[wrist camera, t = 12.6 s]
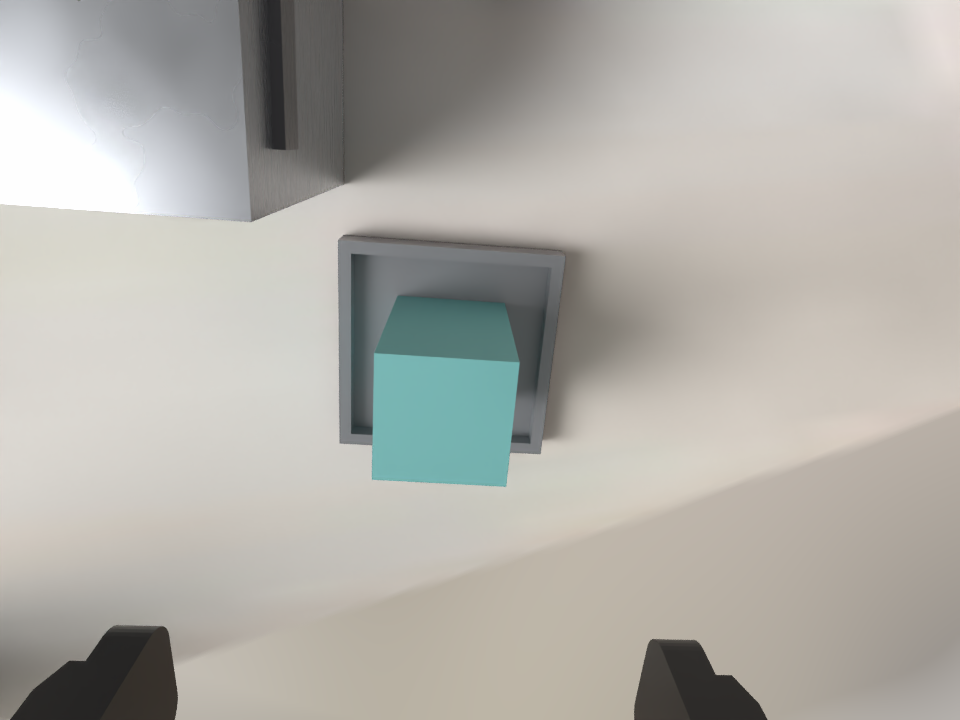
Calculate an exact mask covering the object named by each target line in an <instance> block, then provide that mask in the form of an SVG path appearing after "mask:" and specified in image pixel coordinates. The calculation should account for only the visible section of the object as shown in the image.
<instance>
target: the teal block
mask: <svg viewBox="0 0 960 720" xmlns="http://www.w3.org/2000/svg"><path fill="white" fill-rule="evenodd" d="M519 364H520V362H519V358H518V354H517V350H516V346H515V342H514V338H513V334H512V330H511V326H510V322H509V318H508V314H507V310H506V306H505V303H497V302H482V301H468V300H454V299H439V298H425V297H410V296H397V298H396V301H395V303H394V305H393V308H392V310H391V313H390V315H389V318H388V320H387V323H386V325H385V328H384V330H383V332H382V335H381V337H380V340H379V342H378V345H377V347H376V350H375V352H374V386H373V446H372V480H389V481H408V482H427V483H446V484H465V485H484V486H503V487H506V483H507V474H508V465H509V456H510V446H511V437H512V428H513V419H514V410H515V401H516V392H517V383H518V374H519Z"/></svg>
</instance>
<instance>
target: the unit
mask: <svg viewBox="0 0 960 720" xmlns="http://www.w3.org/2000/svg"><path fill="white" fill-rule="evenodd" d="M341 185H344V154H343V0H0V204H11V205H25V206H38V207H52V208H66V209H80V210H93V211H107V212H121V213H134V214H148V215H162V216H176V217H189V218H203V219H217V220H231V221H244V222H252V221H255V220H257V219H260V218H262V217H265V216H267V215H270V214H272V213H275V212H277V211H280V210H282V209H284V208H287V207H289V206H292V205H294V204H297V203H299V202H302V201H304V200H307V199H309V198H312V197H314V196H317V195H319V194H321V193H324V192H326V191H329V190H331V189H334V188H336V187H339V186H341Z"/></svg>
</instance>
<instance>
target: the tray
mask: <svg viewBox="0 0 960 720" xmlns="http://www.w3.org/2000/svg"><path fill="white" fill-rule="evenodd" d="M565 259H566V256H565V255H564V254H563V252H562V251H557V250H543V249H529V248H515V247H501V246H487V245H474V244H460V243H446V242H432V241H418V240H405V239H391V238H377V237H363V236H349V235H343V236H342V237H341V238H340V239H339V240H338V292H339V419H340V443H343V444H361V445H373V386H374V352H375V350H376V347H377V345H378V342H379V340H380V337H381V335H382V332H383V330H384V328H385V325H386V323H387V320H388V318H389V315H390V313H391V310H392V308H393V305H394V303H395V301H396V298H397V296H410V297H425V298H439V299H454V300H468V301H482V302H497V303H505V306H506V310H507V314H508V318H509V322H510V326H511V330H512V334H513V338H514V342H515V346H516V350H517V354H518V358H519V362H520V364H519V374H518V383H517V392H516V401H515V410H514V419H513V428H512V437H511V446H510V453H528V454H541V446H542V438H543V430H544V422H545V415H546V407H547V399H548V391H549V383H550V376H551V368H552V360H553V352H554V344H555V337H556V329H557V321H558V313H559V305H560V298H561V290H562V282H563V274H564V266H565Z"/></svg>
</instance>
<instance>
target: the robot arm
mask: <svg viewBox="0 0 960 720" xmlns="http://www.w3.org/2000/svg"><path fill="white" fill-rule="evenodd" d="M177 696H178V695H177V686H176V680H175V673H174V666H173V659H172V652H171V646H170V639H169V633H168V631H167V629H166V628H165V627H164V626H123V625H116V626H113V627H112V628H110V629H109V630H108V631H107V632H106V633H105V634H104V636H103V637H102V639H101V640H100V641H99V643H98V644H97V646H96V647H95V649H94V650H93V651H92V653H91V654H90V656H89V657H88V658H87V660H86V661H69V662H67V663H66V664H65V665H64V666H62V667H61V668H60V669H59V670H57V671H56V672H55V673H54V674H52V675H51V676H50V677H49V678H47V679H46V680H45V681H44V682H42V683H41V684H40V685H39V686H37V687H36V688H35V689H34V690H33V691H32V692H31V693H30V694H29V696H28V697H27V698H26V700H25V701H24V702H23V704H22V705H21V706H20V708H19V709H18V710H17V712H16V713H15V714H14V715H13V717H12V718H11V719H10V720H175V715H176V710H177V701H178V697H177ZM634 720H767V718H766V716H765V714H764V712H763V711H762V709H761V707H760V705H759V703H758V702H757V701H756V700H755V699H754V698H753V697H752V696H751V695H750V694H749V693H748V692H747V691H746V690H745V689H744V688H743V687H742V686H741V685H740V684H739V683H738V681H737V680H736V679H735V678H734V677H733V676H732V675H715V673H714V670H713V668H712V666H711V664H710V662H709V660H708V658H707V656H706V654H705V652H704V650H703V648H702V647H701V645H700V644H699V643H698V642H697V641H695V640H664V639H663V640H662V639H652V640H651V641H650V642H649V644H648V647H647V651H646V655H645V660H644V665H643V669H642V673H641V678H640V683H639V687H638V691H637V696H636V701H635V709H634Z"/></svg>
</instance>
